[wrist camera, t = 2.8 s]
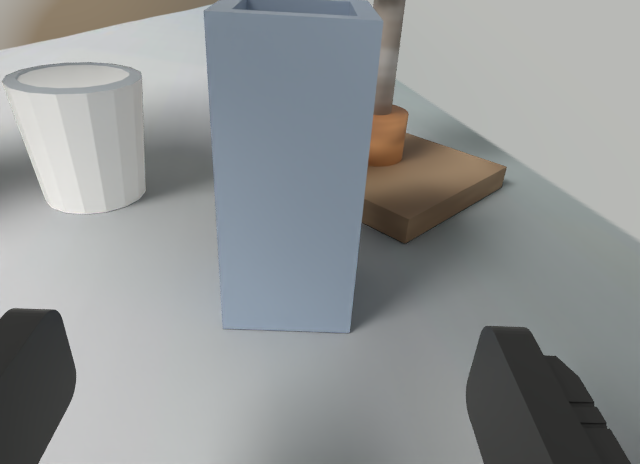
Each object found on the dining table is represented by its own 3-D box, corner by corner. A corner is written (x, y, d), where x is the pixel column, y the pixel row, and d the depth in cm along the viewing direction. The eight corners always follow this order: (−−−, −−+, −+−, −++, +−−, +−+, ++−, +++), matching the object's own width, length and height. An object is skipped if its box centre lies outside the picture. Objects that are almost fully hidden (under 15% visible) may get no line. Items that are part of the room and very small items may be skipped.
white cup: (39, 230, 26) (4, 97, 23) (28, 180, 31) (-3, 64, 28) (170, 204, 29) (157, 84, 26) (141, 162, 34) (126, 57, 31)
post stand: (243, 163, 35) (235, -122, 27) (347, 131, 42) (367, -103, 34) (404, 243, 27) (465, -130, 19) (501, 187, 34) (577, -104, 26)
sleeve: (222, 328, 21) (203, 10, 14) (239, 258, 25) (229, -8, 19) (349, 333, 21) (383, 20, 15) (343, 262, 25) (367, 0, 19)
